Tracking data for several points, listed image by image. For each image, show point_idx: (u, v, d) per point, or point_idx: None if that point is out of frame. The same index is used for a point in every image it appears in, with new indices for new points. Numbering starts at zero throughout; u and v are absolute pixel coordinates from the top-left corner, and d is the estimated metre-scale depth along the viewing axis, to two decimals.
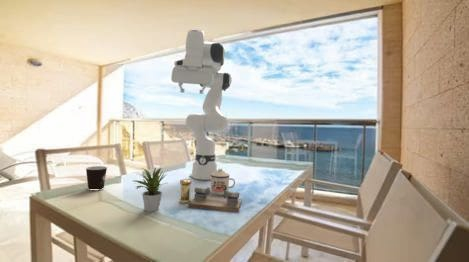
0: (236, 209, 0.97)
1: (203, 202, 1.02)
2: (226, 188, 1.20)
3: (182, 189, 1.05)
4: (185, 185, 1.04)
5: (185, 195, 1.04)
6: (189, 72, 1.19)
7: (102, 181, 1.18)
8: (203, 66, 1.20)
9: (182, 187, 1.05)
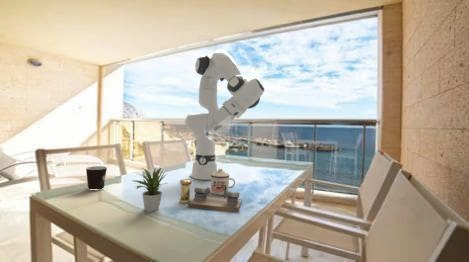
0: (236, 209, 0.97)
1: (203, 202, 1.02)
2: (226, 188, 1.20)
3: (182, 189, 1.05)
4: (185, 185, 1.04)
5: (185, 195, 1.04)
6: (228, 117, 1.10)
7: (102, 181, 1.18)
8: None
9: (182, 187, 1.05)
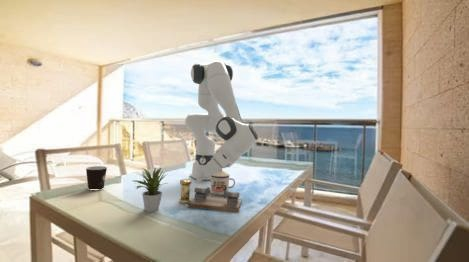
0: (236, 209, 0.97)
1: (203, 202, 1.02)
2: (226, 188, 1.20)
3: (182, 189, 1.05)
4: (185, 185, 1.04)
5: (185, 195, 1.04)
6: None
7: (102, 181, 1.18)
8: None
9: (182, 187, 1.05)
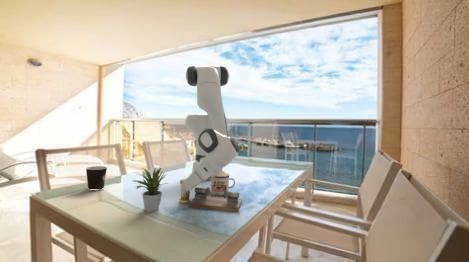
0: (236, 209, 0.97)
1: (203, 202, 1.02)
2: (226, 188, 1.20)
3: None
4: None
5: (185, 194, 1.04)
6: None
7: (102, 181, 1.18)
8: None
9: (182, 187, 1.05)
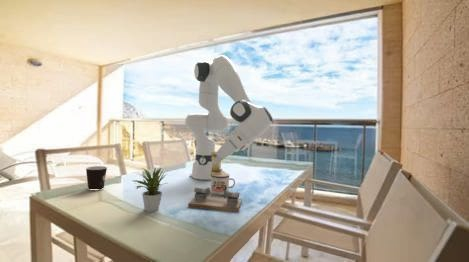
0: (236, 209, 0.97)
1: (203, 202, 1.02)
2: (226, 188, 1.20)
3: None
4: None
5: (216, 166, 1.02)
6: None
7: (102, 181, 1.18)
8: None
9: (213, 158, 1.02)
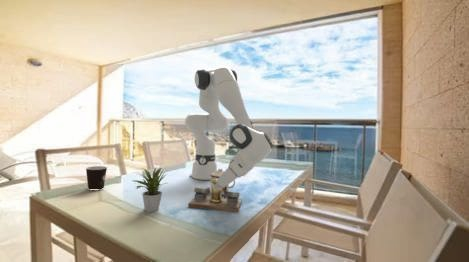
0: (236, 209, 0.97)
1: (203, 202, 1.02)
2: (226, 188, 1.20)
3: None
4: None
5: (217, 194, 1.02)
6: None
7: (102, 181, 1.18)
8: None
9: None
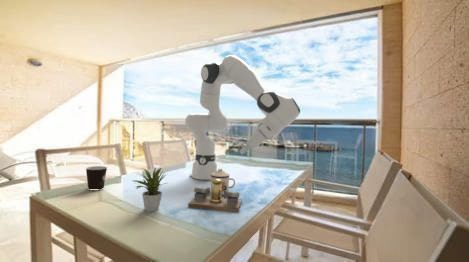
0: (236, 209, 0.97)
1: (203, 202, 1.02)
2: (226, 188, 1.20)
3: (214, 188, 1.03)
4: (217, 184, 1.02)
5: (217, 194, 1.02)
6: None
7: (102, 181, 1.18)
8: None
9: (214, 186, 1.03)
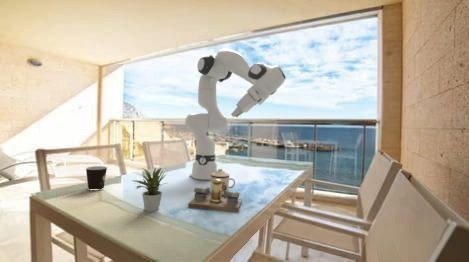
0: (236, 209, 0.97)
1: (203, 202, 1.02)
2: (226, 188, 1.20)
3: (214, 188, 1.03)
4: (217, 184, 1.02)
5: (217, 194, 1.02)
6: (251, 104, 1.15)
7: (102, 181, 1.18)
8: None
9: (214, 186, 1.03)
